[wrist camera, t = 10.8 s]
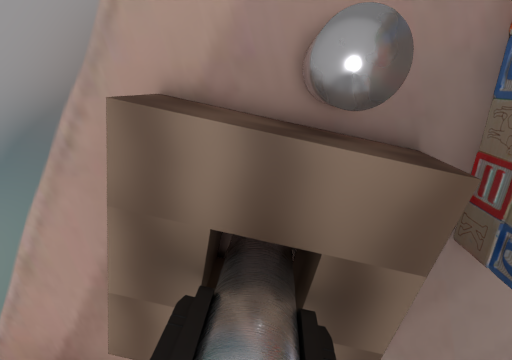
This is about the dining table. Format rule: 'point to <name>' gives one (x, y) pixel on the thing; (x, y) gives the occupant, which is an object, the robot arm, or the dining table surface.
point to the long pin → (252, 305)
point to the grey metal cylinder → (359, 57)
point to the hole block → (268, 217)
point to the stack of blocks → (493, 185)
